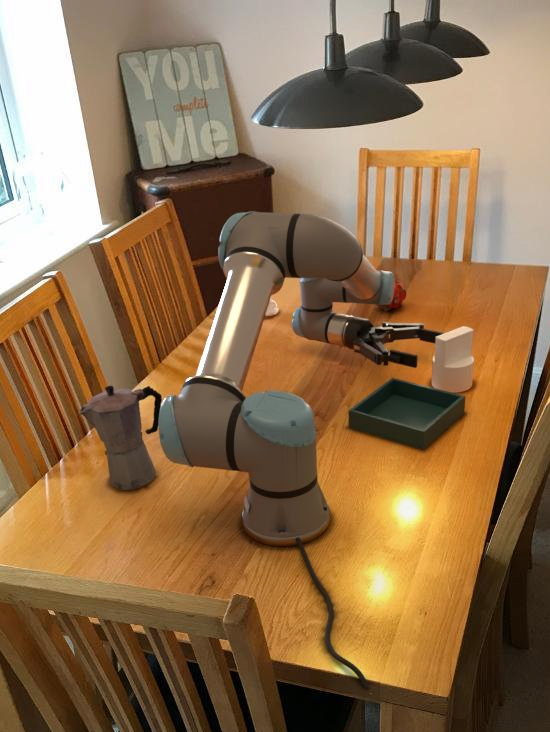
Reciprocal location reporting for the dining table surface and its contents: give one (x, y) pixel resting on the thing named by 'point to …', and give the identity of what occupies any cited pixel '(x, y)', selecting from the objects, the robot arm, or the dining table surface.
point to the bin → (407, 413)
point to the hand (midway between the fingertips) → (431, 350)
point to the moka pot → (123, 434)
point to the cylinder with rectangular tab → (453, 361)
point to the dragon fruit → (396, 297)
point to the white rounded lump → (271, 308)
